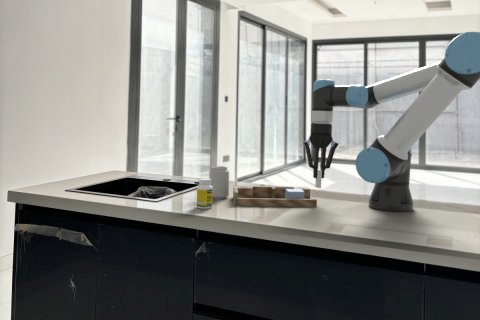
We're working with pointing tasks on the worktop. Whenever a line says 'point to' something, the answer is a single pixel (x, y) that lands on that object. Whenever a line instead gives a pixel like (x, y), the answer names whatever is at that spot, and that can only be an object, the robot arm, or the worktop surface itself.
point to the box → (270, 196)
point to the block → (294, 194)
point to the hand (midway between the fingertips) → (318, 187)
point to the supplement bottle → (204, 194)
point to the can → (220, 182)
